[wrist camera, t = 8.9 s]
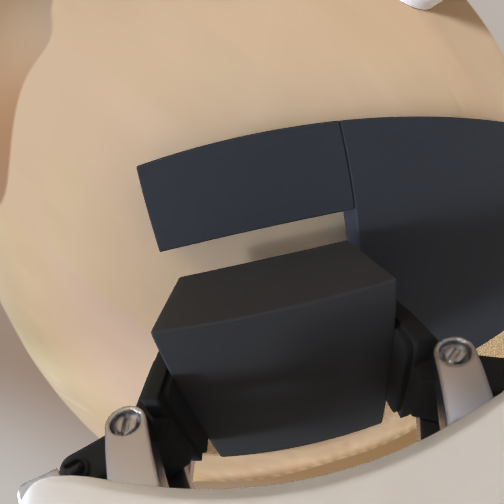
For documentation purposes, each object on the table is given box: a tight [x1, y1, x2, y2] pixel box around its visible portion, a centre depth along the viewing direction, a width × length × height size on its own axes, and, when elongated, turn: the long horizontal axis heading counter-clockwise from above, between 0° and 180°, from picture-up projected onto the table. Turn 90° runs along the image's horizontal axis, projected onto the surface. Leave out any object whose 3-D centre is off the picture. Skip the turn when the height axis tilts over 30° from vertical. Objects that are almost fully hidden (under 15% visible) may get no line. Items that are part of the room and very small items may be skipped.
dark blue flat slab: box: [137, 117, 504, 348], centre depth 11 cm, size 14×20×2 cm
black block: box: [151, 241, 396, 457], centre depth 8 cm, size 6×6×4 cm
